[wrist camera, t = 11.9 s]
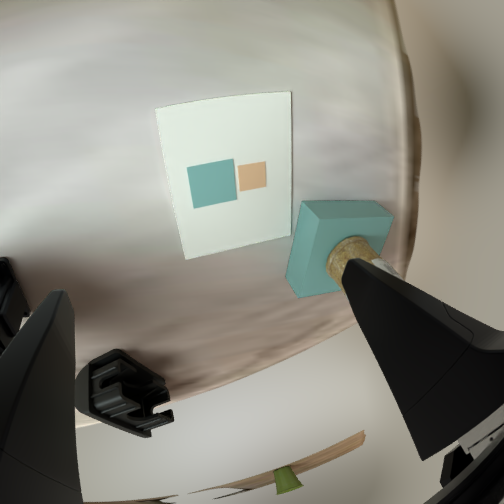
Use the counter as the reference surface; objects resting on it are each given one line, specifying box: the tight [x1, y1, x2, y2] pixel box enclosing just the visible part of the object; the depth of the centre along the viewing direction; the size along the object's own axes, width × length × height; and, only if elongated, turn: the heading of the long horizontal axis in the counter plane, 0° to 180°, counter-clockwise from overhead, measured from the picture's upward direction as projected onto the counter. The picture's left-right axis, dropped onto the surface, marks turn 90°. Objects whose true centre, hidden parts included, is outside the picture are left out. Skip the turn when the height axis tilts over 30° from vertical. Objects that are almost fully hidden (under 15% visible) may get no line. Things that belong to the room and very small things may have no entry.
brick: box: [285, 201, 394, 298], centre depth 26 cm, size 8×8×3 cm
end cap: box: [75, 349, 174, 438], centre depth 28 cm, size 10×7×7 cm
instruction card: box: [155, 91, 291, 260], centre depth 21 cm, size 9×12×1 cm
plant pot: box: [274, 466, 303, 495], centre depth 94 cm, size 12×12×11 cm
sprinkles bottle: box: [326, 236, 404, 301], centre depth 20 cm, size 5×5×14 cm
